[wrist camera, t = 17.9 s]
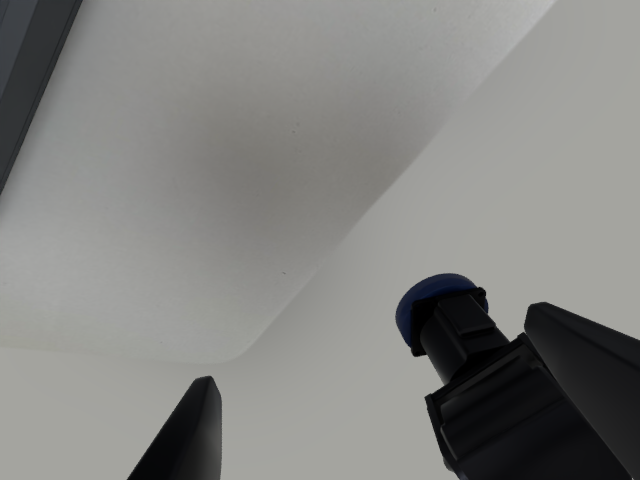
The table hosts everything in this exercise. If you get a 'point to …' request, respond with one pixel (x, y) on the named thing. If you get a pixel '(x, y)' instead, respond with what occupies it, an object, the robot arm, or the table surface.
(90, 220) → the table surface
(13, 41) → the dark grey tray
